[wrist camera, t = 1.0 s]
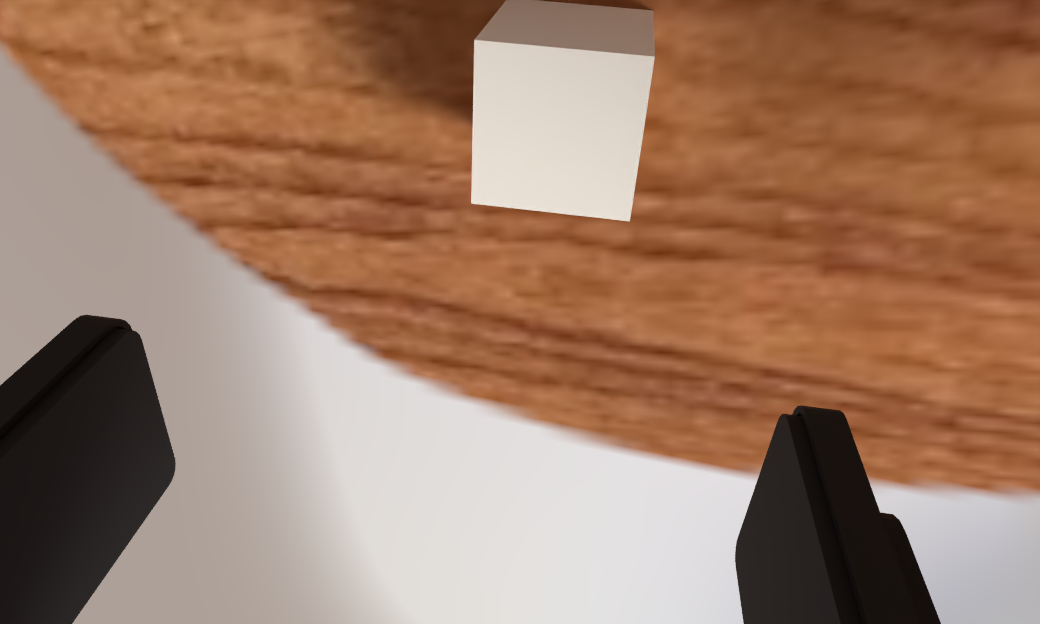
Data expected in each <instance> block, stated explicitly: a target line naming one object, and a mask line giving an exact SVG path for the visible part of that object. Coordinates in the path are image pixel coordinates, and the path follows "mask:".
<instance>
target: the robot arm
mask: <svg viewBox="0 0 1040 624" xmlns="http://www.w3.org/2000/svg"><path fill="white" fill-rule="evenodd" d="M174 472H175V457H174V454H173V450H172V447H171V443H170V439H169V436H168V433H167V429H166V426H165V422H164V418H163V414H162V411H161V407H160V404H159V400H158V396H157V393H156V389H155V386H154V382H153V378H152V375H151V372H150V368H149V364H148V361H147V357H146V353H145V350H144V346H143V343H142V339H141V337H140V335H139V334H138V333H137V332H136V331H132V329H131V326H130V325H129V324H128V323H127V322H126V321H125V320H121V319H115V318H107V317H99V316H91V315H83V316H80V317H79V318H76V319H75V320H74V321H73V322H72V323H70V324H69V325H68V326H67V327H66V328H65V329H64V330H63V331H61V332H60V333H59V334H58V335H57V336H56V337H55V338H53V339H52V340H51V341H50V342H49V343H48V344H47V345H46V346H44V347H43V348H42V349H41V350H40V351H39V352H38V353H37V354H35V355H34V356H33V357H32V358H31V359H30V360H29V361H27V362H26V363H25V364H24V365H23V366H22V367H21V368H20V369H19V370H17V371H16V372H15V373H14V374H13V375H12V376H11V377H9V378H8V379H7V380H6V381H5V382H4V383H3V384H2V385H0V624H72V623H73V622H74V620H75V619H76V617H77V616H78V614H79V613H80V611H81V610H82V609H83V607H84V606H85V604H86V603H87V602H88V600H89V599H90V597H91V596H92V594H93V593H94V592H95V590H96V589H97V587H98V586H99V584H100V583H101V582H102V580H103V579H104V577H105V576H106V574H107V573H108V572H109V570H110V569H111V567H112V566H113V564H114V563H115V561H116V560H117V559H118V557H119V556H120V555H121V553H122V551H123V550H124V549H125V547H126V546H127V545H128V543H129V542H130V540H131V539H132V537H133V536H134V535H135V533H136V532H137V530H138V529H139V527H140V526H141V525H142V523H143V521H144V520H145V519H146V517H147V516H148V514H149V513H150V512H151V510H152V509H153V507H154V506H155V504H156V503H157V502H158V500H159V499H160V497H161V496H162V495H163V493H164V492H165V490H166V489H167V487H168V486H169V484H170V483H171V481H172V478H173V476H174ZM735 557H736V558H735V562H736V571H737V578H738V585H739V592H740V600H741V607H742V614H743V620H744V624H941V623H940V620H939V618H938V615H937V612H936V610H935V607H934V605H933V602H932V599H931V597H930V594H929V592H928V589H927V586H926V584H925V581H924V579H923V576H922V574H921V571H920V569H919V566H918V563H917V561H916V558H915V555H914V553H913V550H912V548H911V545H910V543H909V540H908V537H907V535H906V532H905V530H904V528H903V526H902V524H901V522H900V521H899V519H897V518H896V517H895V516H894V515H893V514H886V513H880V511H879V508H878V506H877V503H876V500H875V497H874V494H873V492H872V489H871V486H870V483H869V480H868V478H867V475H866V472H865V469H864V467H863V464H862V461H861V458H860V455H859V453H858V450H857V447H856V444H855V442H854V439H853V436H852V433H851V430H850V428H849V425H848V422H847V419H846V417H845V415H844V413H843V412H841V411H840V410H832V409H824V408H816V407H808V406H797V407H796V409H795V410H794V412H793V414H792V415H788V414H782V415H781V416H780V417H779V420H778V422H777V425H776V428H775V431H774V434H773V437H772V440H771V443H770V445H769V448H768V451H767V454H766V457H765V460H764V463H763V466H762V469H761V472H760V475H759V478H758V481H757V484H756V486H755V490H754V492H753V495H752V498H751V501H750V504H749V507H748V510H747V513H746V516H745V519H744V522H743V524H742V528H741V530H740V534H739V536H738V540H737V544H736V554H735Z"/></svg>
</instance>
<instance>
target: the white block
mask: <svg viewBox="0 0 1040 624" xmlns="http://www.w3.org/2000/svg"><path fill="white" fill-rule="evenodd" d="M654 59H655V44H654V11H653V10H642V9H630V8H619V7H607V6H596V5H584V4H573V3H562V2H550V1H539V0H506V1H505V2H504V3H503V5H502V6H501V7H500V8H499V10H498V11H497V12H496V13H495V15H494V16H493V17H492V18H491V20H490V21H489V22H488V23H487V25H486V26H485V27H484V28H483V30H482V31H481V32H480V33H479V35H478V36H477V37H476V38H475V40H474V84H473V140H472V196H471V203H472V204H481V205H490V206H499V207H508V208H517V209H525V210H534V211H543V212H552V213H561V214H570V215H579V216H587V217H596V218H605V219H614V220H623V221H630V216H631V210H632V203H633V197H634V190H635V184H636V177H637V170H638V164H639V157H640V151H641V144H642V138H643V131H644V124H645V118H646V111H647V105H648V98H649V92H650V85H651V78H652V72H653V65H654Z"/></svg>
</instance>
